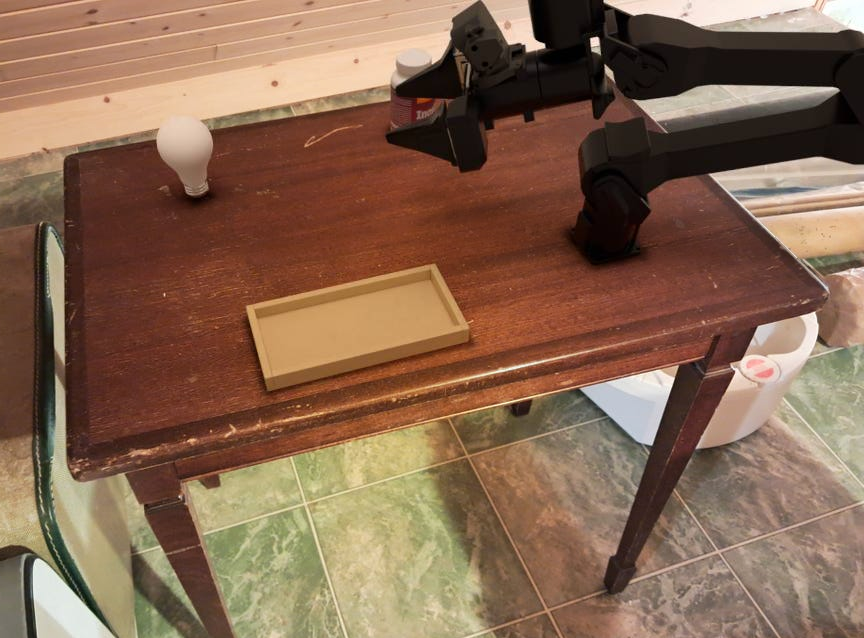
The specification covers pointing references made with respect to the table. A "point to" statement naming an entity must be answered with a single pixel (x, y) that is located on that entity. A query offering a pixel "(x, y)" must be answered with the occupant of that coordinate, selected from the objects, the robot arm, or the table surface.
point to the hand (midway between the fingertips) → (391, 113)
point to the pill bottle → (405, 107)
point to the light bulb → (187, 151)
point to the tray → (355, 326)
